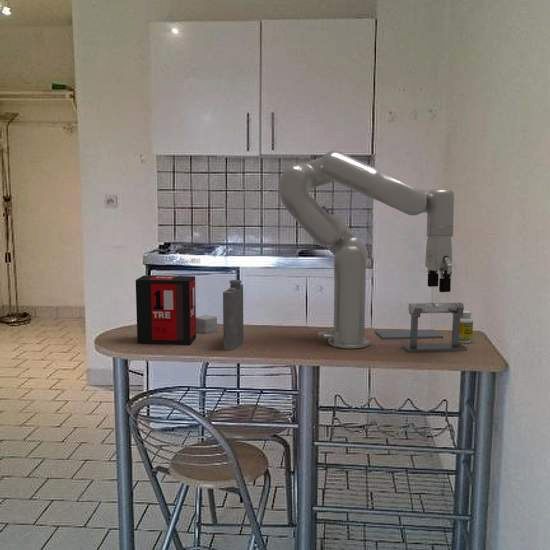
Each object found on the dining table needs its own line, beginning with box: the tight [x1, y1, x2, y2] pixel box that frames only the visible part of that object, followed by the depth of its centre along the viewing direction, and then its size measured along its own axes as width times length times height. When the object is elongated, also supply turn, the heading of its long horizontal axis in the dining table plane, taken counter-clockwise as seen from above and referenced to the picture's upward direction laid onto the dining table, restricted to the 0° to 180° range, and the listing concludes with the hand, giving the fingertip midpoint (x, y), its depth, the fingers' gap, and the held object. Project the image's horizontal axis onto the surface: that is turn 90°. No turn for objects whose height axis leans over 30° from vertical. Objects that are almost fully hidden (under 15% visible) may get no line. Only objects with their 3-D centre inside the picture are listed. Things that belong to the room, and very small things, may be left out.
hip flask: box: [222, 279, 244, 352], centre depth 196 cm, size 16×4×20 cm, turn 170°
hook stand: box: [401, 307, 468, 353], centre depth 192 cm, size 18×6×13 cm, turn 96°
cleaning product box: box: [135, 275, 197, 346], centre depth 200 cm, size 16×9×20 cm, turn 85°
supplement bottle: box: [459, 309, 474, 344], centre depth 202 cm, size 5×5×10 cm
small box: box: [196, 314, 218, 335], centre depth 214 cm, size 6×6×5 cm
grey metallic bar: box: [407, 302, 465, 315], centre depth 192 cm, size 16×3×3 cm, turn 96°
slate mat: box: [374, 329, 444, 340], centre depth 210 cm, size 20×9×1 cm, turn 96°
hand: (438, 289), depth 191 cm, fingers open, 9 cm apart
